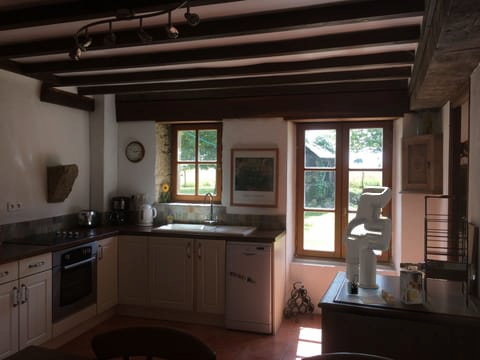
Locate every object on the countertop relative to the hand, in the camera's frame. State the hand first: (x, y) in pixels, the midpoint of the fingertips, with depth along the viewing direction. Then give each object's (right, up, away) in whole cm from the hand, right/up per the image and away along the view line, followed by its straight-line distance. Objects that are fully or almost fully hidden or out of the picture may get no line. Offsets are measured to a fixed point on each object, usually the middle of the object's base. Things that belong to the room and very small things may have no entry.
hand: (352, 292), depth 206 cm
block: (0, 0, 0) cm, 0 cm away
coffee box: (+28, -2, -9) cm, 29 cm away
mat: (+8, -2, -7) cm, 11 cm away
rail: (+16, -2, -7) cm, 18 cm away
